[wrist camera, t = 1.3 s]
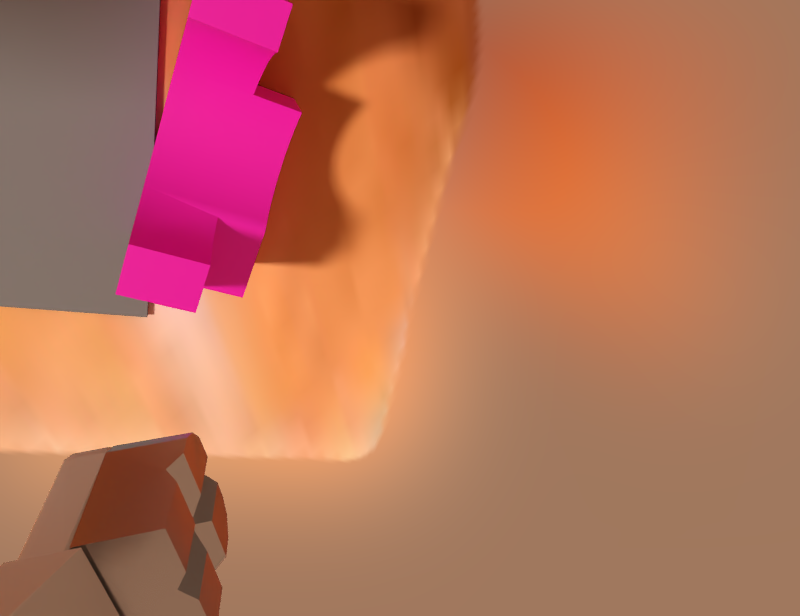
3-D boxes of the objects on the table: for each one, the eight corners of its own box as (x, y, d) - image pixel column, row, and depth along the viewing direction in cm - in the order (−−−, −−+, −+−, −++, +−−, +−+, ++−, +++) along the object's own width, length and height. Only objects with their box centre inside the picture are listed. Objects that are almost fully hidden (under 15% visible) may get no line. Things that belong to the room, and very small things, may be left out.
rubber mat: (-49, 300, 38) (-51, 302, 37) (-102, -215, 27) (-105, -217, 27) (147, 314, 41) (147, 317, 40) (166, -147, 30) (165, -148, 30)
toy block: (239, 263, 40) (245, 324, 34) (130, 235, 38) (115, 294, 31) (322, 12, 35) (348, 28, 28) (202, -40, 32) (201, -36, 26)
